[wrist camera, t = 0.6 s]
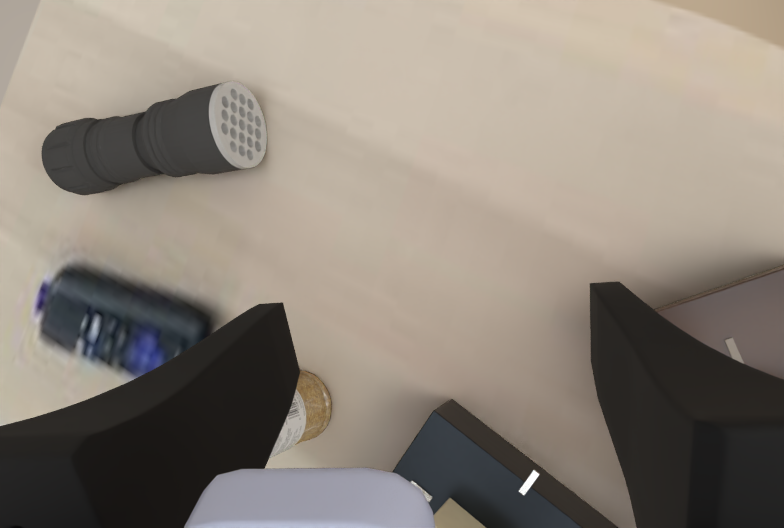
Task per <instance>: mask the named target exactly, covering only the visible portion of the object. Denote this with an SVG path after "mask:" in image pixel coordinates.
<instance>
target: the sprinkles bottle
mask: <svg viewBox="0 0 784 528" xmlns="http://www.w3.org/2000/svg"><path fill="white" fill-rule="evenodd" d="M330 414H331V398H330V396H329V393H328V391H327V389H326V388H325V386H324V384H323V383H322V381H321V380H319V379H318V378H317V377H316V376H315V375H313V374H311V373H309V372H306V371H300V375H299V379H298V383H297V387H296V391H295V395H294V399H293V402H292V406H291V408H290V411H289V413H288V416H287V418H286V420H285V423H284V425H283V427H282V430H281V432H280V434H279V437H278V439H277V441H276V443H275V446H274V448H273V450H272V453H271V455H270V457H269V458H271V457H273V456H275V455H277V454H279V453H282V452H284V451H286V450H288V449H290V448H291V447H293V446H294V445H296V444H298V443H300V442H302V441H307V440H310V439H312V438H315V437H317V436H318V435H319V434H321V433H322V432H323V430H324V429H325V428H326V426H327V425H328V422H329V419H330Z"/></svg>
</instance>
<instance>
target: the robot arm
mask: <svg viewBox="0 0 784 528" xmlns="http://www.w3.org/2000/svg"><path fill="white" fill-rule="evenodd" d="M590 329H591V364H592V369H593V375H594V380H595V385H596V391H597V396H598V399H599V403H600V406H601V409H602V412H603V415H604V418H605V421H606V424H607V427H608V430H609V433H610V436H611V439H612V441H613V444H614V447H615V450H616V453H617V456H618V459H619V462H620V465H621V468H622V471H623V474H624V477H625V480H626V484H627V487H628V491H629V495H630V499H631V503H632V508H633V513H634V517H635V522H636V527H637V528H784V379H781V378H778V377H775V376H773V375H770V374H768V373H765V372H763V371H760V370H758V369H755V368H753V367H750V366H748V365H746V364H743V363H741V362H739V361H737V360H735V359H733V358H731V357H729V356H727V355H725V354H723V353H721V352H719V351H717V350H715V349H713V348H711V347H709V346H707V345H706V344H704V343H702V342H700V341H699V340H697V339H696V338H694V337H692V336H691V335H689V334H688V333H686V332H685V331H683V330H681V329H680V328H678V327H677V326H675V325H674V324H673V323H671V322H670V321H668V320H667V319H665V318H664V317H663V316H661V315H660V314H659V313H657V312H656V311H655V310H653V309H652V308H651V307H650V306H648V305H647V304H646V303H644V302H643V301H642V300H641V299H640V298H638V297H637V296H636V295H635V294H633V293H632V292H631V291H630V290H629V289H627V288H626V287H625V286H624V285H623V284H621V283H620V282H604V283H590ZM299 375H300V370H299V366H298V362H297V358H296V354H295V350H294V346H293V342H292V338H291V333H290V329H289V325H288V321H287V317H286V313H285V309H284V305H283V303H269V304H259V305H257V306H254V307H253V308H251V309H249V310H247V311H246V312H244V313H243V314H241V315H239V316H238V317H236V318H235V319H233V320H232V321H230V322H229V323H227V324H226V325H224V326H223V327H221V328H220V329H218V330H217V331H215V332H214V333H212V334H211V335H209V336H208V337H206V338H205V339H203V340H202V341H200V342H199V343H197V344H196V345H194V346H192V347H191V348H189V349H188V350H186V351H184V352H183V353H181V354H179V355H178V356H176V357H175V358H173V359H171V360H170V361H168V362H166V363H165V364H163V365H161V366H159V367H157V368H156V369H154V370H152V371H150V372H148V373H146V374H144V375H142V376H140V377H138V378H136V379H134V380H132V381H130V382H128V383H126V384H123V385H121V386H119V387H116V388H114V389H112V390H109V391H107V392H105V393H102V394H100V395H97V396H95V397H93V398H90V399H88V400H85V401H82V402H80V403H77V404H74V405H71V406H68V407H66V408H63V409H59V410H56V411H53V412H50V413H47V414H44V415H41V416H37V417H34V418H30V419H26V420H23V421H19V422H15V423H11V424H7V425H3V426H0V528H435V521H434V515H433V511H432V509H431V507H430V505H429V503H428V501H427V499H426V498H425V496H424V494H423V492H422V490H421V489H419V488H418V487H416V486H415V485H413V484H412V483H410V482H409V481H407V480H406V479H404V478H403V477H401V476H400V475H398V474H397V473H392V472H387V471H382V470H377V469H371V468H288V469H264V468H265V466H266V464H267V462H268V459H269V457H270V455H271V453H272V450H273V448H274V446H275V443H276V441H277V439H278V437H279V434H280V432H281V430H282V427H283V425H284V423H285V420H286V418H287V416H288V413H289V411H290V408H291V406H292V402H293V399H294V395H295V391H296V387H297V383H298V379H299Z"/></svg>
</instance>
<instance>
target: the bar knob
mask: <svg viewBox="0 0 784 528" xmlns="http://www.w3.org/2000/svg"><path fill="white" fill-rule="evenodd" d="M434 521H435V528H486V527H485V526H483V525H482V524H481V523H480V522H479V521H477V520H476V519H475V518H474V517H473V516H472V515H470V514H469V513H468V512H467V511H466V510H464V509H463V508H462V507H461V506H460V505H458V504H457V503H456V502H455V501H454V500H452V499H451V498H449V499H448V500H447V501H446V502H445V503H444V504H443V505H442V506H441V508H440V509H439V510H438V511H437V512H436V513H435V514H434Z"/></svg>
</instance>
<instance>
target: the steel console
mask: <svg viewBox="0 0 784 528" xmlns="http://www.w3.org/2000/svg"><path fill="white" fill-rule="evenodd" d="M392 473H397V474H398V475H400V476H401V477H403V478H404V479H406V480H407V481H409V482H410V483H412V484H413V485H415V486H416V487H418V488H419V489H421V490H422V492H423V494H424V496H425V498H426V499H427V501H428V503H429V505H430V507H431V509H432V511H433V515H434V514H435V513H436V512H437V511H438V510H439V509H440V508H441V506H442V505H443V504H444V503H445V502H446V501H447V500H448V499H449V498H451V499H452V500H454V501H455V502H456V503H457V504H458V505H460V506H461V507H462V508H463V509H464V510H466V511H467V512H468V513H469V514H470V515H472V516H473V517H474V518H475V519H476V520H477V521H479V522H480V523H481V524H482V525H483V526H485V527H486V528H618V527H617V526H616V525H614V524H613V523H612V522H611V521H609V520H608V519H607V518H605V517H604V516H603V515H601V514H600V513H599V512H598V511H596V510H595V509H594V508H592V507H591V506H590V505H589V504H587V503H586V502H585V501H583V500H582V499H581V498H579V497H578V496H577V495H576V494H574V493H573V492H572V491H570V490H569V489H568V488H567V487H565V486H564V485H563V484H561V483H560V482H559V481H557V480H556V479H555V478H554V477H552V476H551V475H550V474H548V473H547V472H546V471H545V470H543V469H542V468H541V467H539V466H538V465H537V464H535V463H534V462H533V461H532V460H530V459H529V458H528V457H526V456H525V455H524V454H523V453H521V452H520V451H519V450H517V449H516V448H515V447H513V446H512V445H511V444H510V443H508V442H507V441H506V440H504V439H503V438H502V437H501V436H499V435H498V434H497V433H495V432H494V431H493V430H492V429H490V428H489V427H488V426H486V425H485V424H484V423H482V422H481V421H480V420H479V419H477V418H476V417H475V416H473V415H472V414H471V413H470V412H468V411H467V410H466V409H464V408H463V407H462V406H460V405H459V404H458V403H457V402H455V401H454V400H453V399H451V400H450V401H448V402H447V403H445V404H443V405H442V406H440V407H439V408H437V409H435V410H434V411H433V412H432V414H431V415H430V417H429V418H428V420H427V421H426V423H425V424H424V425H423V427H422V428H421V430H420V431H419V433H418V434H417V436H416V437H415V439H414V440H413V442H412V443H411V445H410V446H409V448H408V449H407V451H406V452H405V454H404V455H403V457H402V458H401V460H400V461H399V463H398V464H397V466H396V467H395V469H394V470H393V472H392Z"/></svg>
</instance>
